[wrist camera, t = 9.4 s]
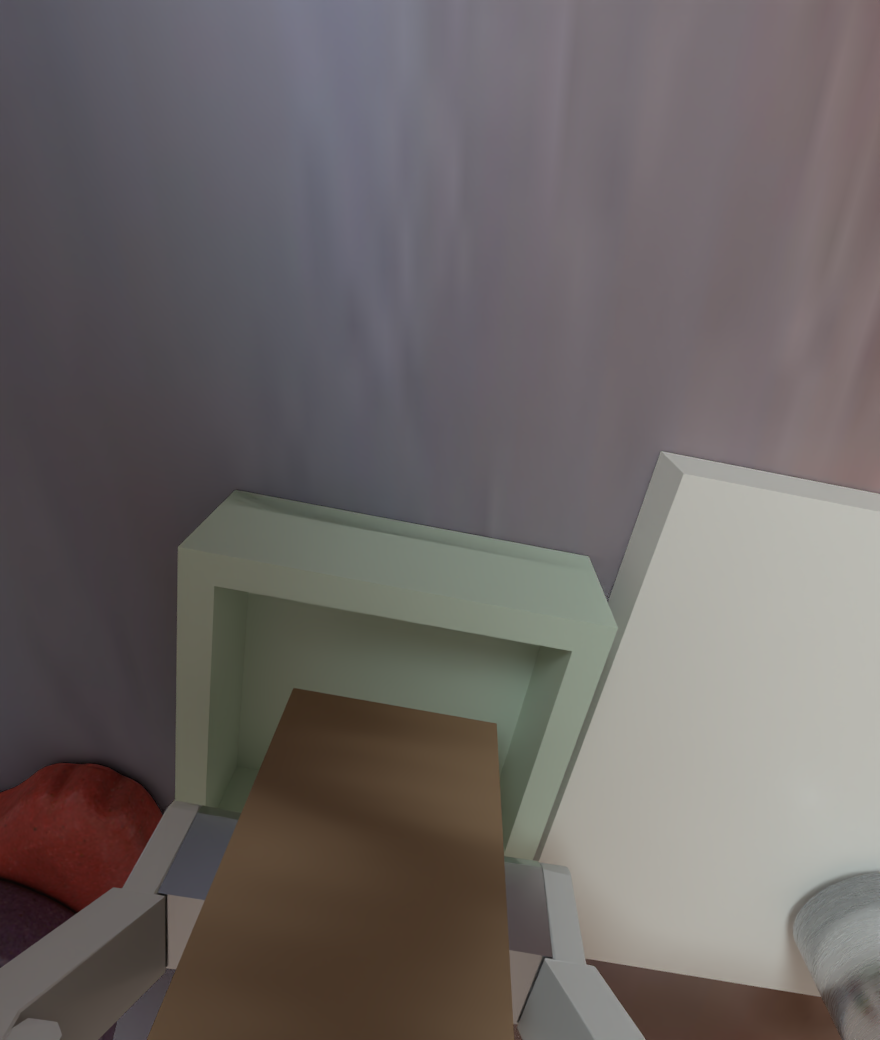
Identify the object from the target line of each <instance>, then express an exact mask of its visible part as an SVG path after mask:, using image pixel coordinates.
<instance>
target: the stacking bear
mask: <svg viewBox="0 0 880 1040" xmlns="http://www.w3.org/2000/svg"><path fill="white" fill-rule="evenodd" d="M162 816H163V815H162V813H161V811H160V809H159V807H158V806H157V804H156V803H155V801H154V800H153V798H152V797H151V796H150V794H149V793H148V792H147V791H146V790H145V789H144V788H143V786H142V785H140V784H139V783H137V782H136V781H134V780H133V779H130V778H128V777H125V776H123V775H121V774H119V773H117V772H116V771H114V770H112V769H111V768H109V767H105V766H102V765H98V764H71V763H58V764H53V765H50V766H46V767H44V768H42V769H40V770H39V771H37V772H36V773H35V774H34V775H32V776H31V777H30V778H28V779H27V780H26V781H24V782H23V783H21V784H20V785H18V786H16V787H14V788H12V789H9V790H6V791H3V792H0V968H1V967H3V966H4V965H5V964H7V963H8V962H10V961H11V960H12V959H14V958H15V957H17V956H18V955H19V954H21V953H22V952H24V951H25V950H26V949H28V948H29V947H31V946H32V945H33V944H35V943H36V942H38V941H39V940H40V939H42V938H43V937H44V936H46V935H47V934H49V933H50V932H51V931H53V930H54V929H56V928H57V927H58V926H60V925H61V924H63V923H64V922H65V921H67V920H68V919H70V918H71V917H72V916H74V915H75V914H77V913H78V912H79V911H81V910H82V909H84V908H85V907H86V906H88V905H89V904H91V903H92V902H93V901H95V900H96V899H98V898H99V897H100V896H102V895H103V894H105V893H106V892H107V891H109V890H110V889H112V888H113V887H115V888H123V886H124V884H125V882H126V881H127V879H128V877H129V875H130V873H131V872H132V870H133V868H134V866H135V864H136V863H137V861H138V859H139V857H140V855H141V854H142V852H143V850H144V848H145V847H146V845H147V843H148V841H149V839H150V838H151V836H152V834H153V832H154V830H155V829H156V827H157V825H158V823H159V821H160V820H161V818H162ZM116 1024H117V1021H116V1022H115V1023H114V1024H113V1025H112V1026H111V1027H110V1028H109V1029H108V1030H107V1031H106V1032H105V1033H104V1034H103V1035H102V1036H101V1037H100V1038H99V1039H98V1040H113V1036H114V1032H115V1028H116Z"/></svg>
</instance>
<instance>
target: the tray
mask: <svg viewBox="0 0 880 1040" xmlns="http://www.w3.org/2000/svg"><path fill="white" fill-rule="evenodd" d="M617 630H618V626H617V624H616V622H615V619H614V617H613V614H612V612H611V609H610V607H609V605H608V602H607V600H606V597H605V595H604V592H603V590H602V587H601V585H600V583H599V580H598V578H597V575H596V573H595V570H594V568H593V566H592V563H591V561H590V558H589V556H584V555H578V554H573V553H568V552H562V551H557V550H552V549H547V548H541V547H536V546H531V545H525V544H520V543H515V542H509V541H504V540H499V539H494V538H488V537H483V536H478V535H472V534H467V533H462V532H456V531H451V530H446V529H441V528H435V527H430V526H425V525H419V524H414V523H409V522H403V521H398V520H393V519H387V518H382V517H377V516H372V515H366V514H361V513H356V512H350V511H345V510H340V509H334V508H329V507H324V506H319V505H313V504H308V503H303V502H297V501H292V500H287V499H281V498H276V497H271V496H266V495H260V494H255V493H250V492H244V491H239V490H235V491H234V492H233V493H232V494H231V495H230V496H229V497H228V498H227V499H226V500H225V501H224V502H222V503H221V504H220V505H219V506H218V507H217V508H216V509H215V510H214V511H213V512H212V513H211V514H210V515H209V516H208V517H207V518H206V519H205V520H204V521H203V522H202V523H201V524H200V525H199V526H198V527H197V528H196V529H195V530H194V531H193V532H192V533H191V534H190V535H189V536H188V537H187V538H186V539H185V540H184V541H183V542H182V543H181V544H180V545H179V546H178V583H177V669H176V755H175V801H181V802H187V803H192V804H198V805H203V806H208V807H214V808H219V809H224V810H229V811H234V812H239V813H241V812H242V810H243V808H244V805H245V803H246V800H247V798H248V796H249V793H250V791H251V788H252V786H253V784H254V781H255V779H256V776H257V774H258V772H259V769H260V767H261V764H262V762H263V760H264V757H265V755H266V752H267V750H268V748H269V745H270V743H271V740H272V738H273V736H274V733H275V731H276V728H277V726H278V724H279V721H280V719H281V716H282V714H283V712H284V709H285V707H286V704H287V702H288V700H289V697H290V695H291V692H292V690H293V688H298V689H303V690H309V691H315V692H320V693H326V694H332V695H337V696H343V697H349V698H355V699H360V700H366V701H372V702H377V703H383V704H389V705H394V706H400V707H406V708H412V709H417V710H423V711H429V712H434V713H440V714H446V715H451V716H457V717H463V718H469V719H474V720H480V721H486V722H491V723H497V738H498V757H499V775H500V793H501V811H502V829H503V847H504V856H507V857H514V858H521V859H527V860H533V859H534V856H535V853H536V850H537V848H538V845H539V842H540V839H541V837H542V834H543V831H544V829H545V826H546V823H547V820H548V818H549V815H550V812H551V810H552V807H553V804H554V801H555V799H556V796H557V793H558V790H559V788H560V785H561V782H562V780H563V777H564V774H565V771H566V769H567V766H568V763H569V761H570V758H571V755H572V752H573V750H574V747H575V744H576V741H577V739H578V736H579V733H580V731H581V728H582V725H583V722H584V720H585V717H586V714H587V712H588V709H589V706H590V703H591V701H592V698H593V695H594V692H595V690H596V687H597V684H598V682H599V679H600V676H601V673H602V671H603V668H604V665H605V663H606V660H607V657H608V654H609V652H610V649H611V646H612V643H613V641H614V638H615V635H616V633H617Z"/></svg>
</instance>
